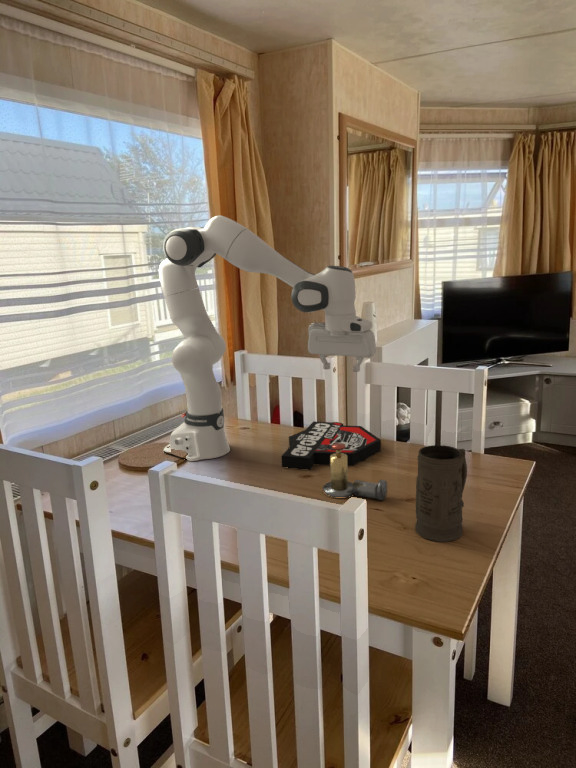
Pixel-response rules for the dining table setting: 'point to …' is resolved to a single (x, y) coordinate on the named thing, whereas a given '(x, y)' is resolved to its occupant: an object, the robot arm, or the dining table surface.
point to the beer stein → (440, 492)
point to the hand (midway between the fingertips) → (341, 370)
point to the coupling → (360, 489)
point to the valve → (339, 468)
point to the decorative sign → (329, 445)
